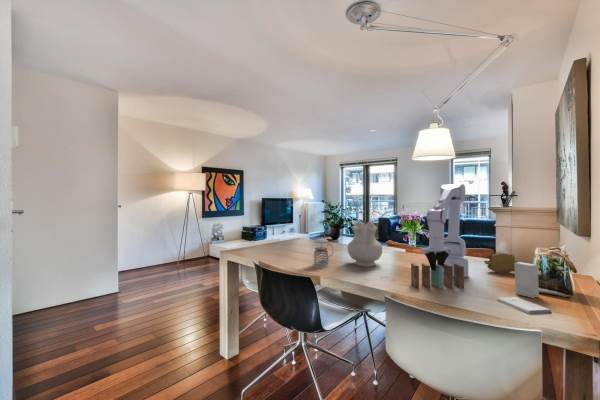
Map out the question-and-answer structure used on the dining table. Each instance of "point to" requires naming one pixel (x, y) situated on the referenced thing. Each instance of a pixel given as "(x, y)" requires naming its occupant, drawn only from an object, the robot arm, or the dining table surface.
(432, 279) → the domino
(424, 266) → the domino
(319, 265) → the french press
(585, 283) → the dining table surface
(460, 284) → the domino
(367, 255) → the ceramic pitcher
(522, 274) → the skincare box
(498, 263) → the wooden carving
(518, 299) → the external hard drive
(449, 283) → the domino
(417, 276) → the domino
